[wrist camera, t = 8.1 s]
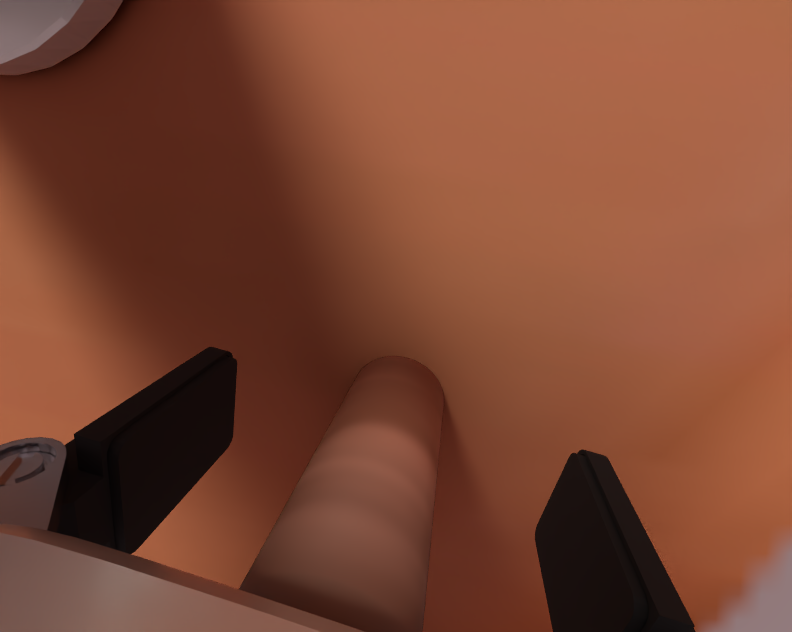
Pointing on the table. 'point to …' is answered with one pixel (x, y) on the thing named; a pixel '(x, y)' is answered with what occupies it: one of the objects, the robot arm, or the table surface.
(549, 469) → the table surface
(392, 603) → the corded block
